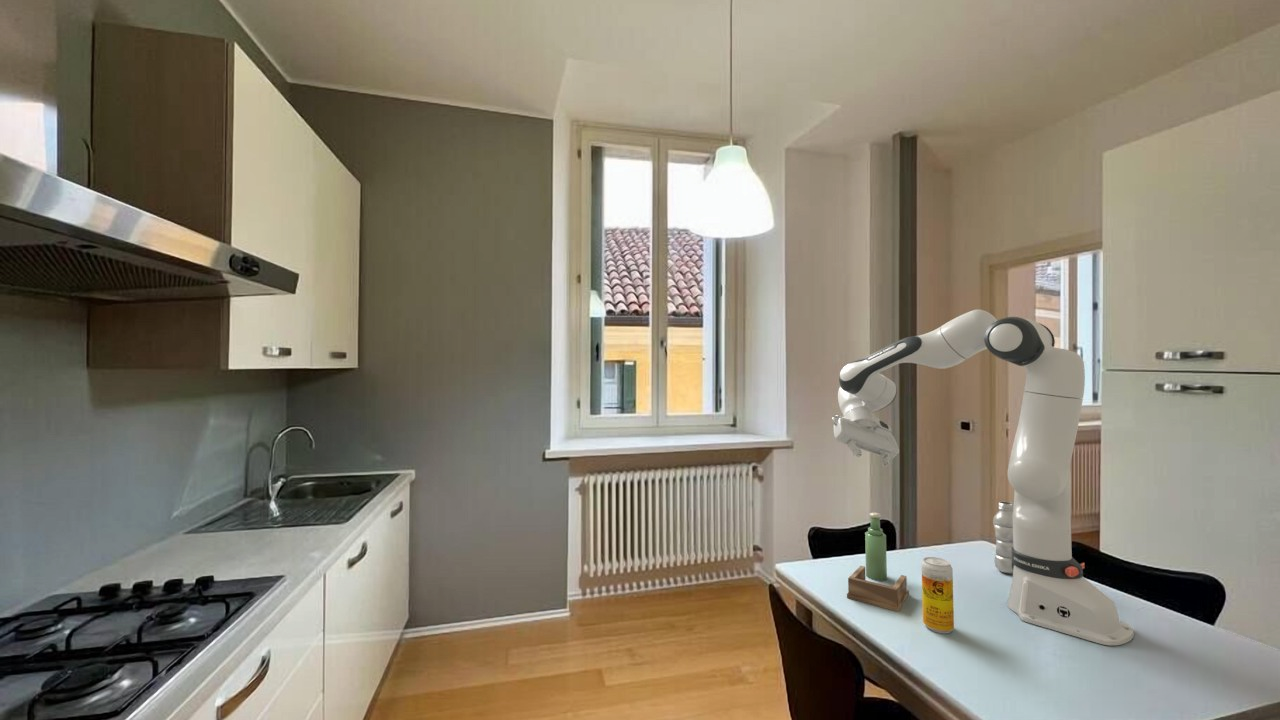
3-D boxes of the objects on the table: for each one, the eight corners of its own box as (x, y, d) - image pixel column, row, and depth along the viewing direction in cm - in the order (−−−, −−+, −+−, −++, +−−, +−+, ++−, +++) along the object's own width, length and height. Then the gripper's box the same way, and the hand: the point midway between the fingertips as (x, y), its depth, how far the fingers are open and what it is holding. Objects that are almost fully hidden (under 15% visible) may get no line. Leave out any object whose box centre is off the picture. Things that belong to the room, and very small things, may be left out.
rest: (860, 582, 138) (860, 564, 138) (908, 594, 130) (908, 575, 130) (847, 597, 129) (846, 578, 129) (897, 611, 121) (897, 590, 121)
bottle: (891, 577, 141) (889, 514, 141) (879, 582, 138) (877, 517, 139) (873, 571, 146) (872, 510, 146) (861, 575, 143) (860, 513, 143)
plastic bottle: (1028, 577, 141) (1026, 506, 141) (1004, 577, 141) (1002, 506, 141) (1012, 568, 147) (1010, 500, 148) (989, 568, 147) (987, 500, 148)
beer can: (925, 631, 111) (924, 564, 112) (920, 619, 117) (919, 555, 118) (957, 636, 109) (955, 567, 110) (950, 623, 115) (948, 558, 116)
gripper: (837, 407, 150) (847, 443, 139) (894, 428, 153) (909, 464, 143) (825, 420, 154) (834, 455, 143) (881, 440, 157) (894, 476, 147)
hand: (872, 460), depth 143 cm, fingers open, 8 cm apart
